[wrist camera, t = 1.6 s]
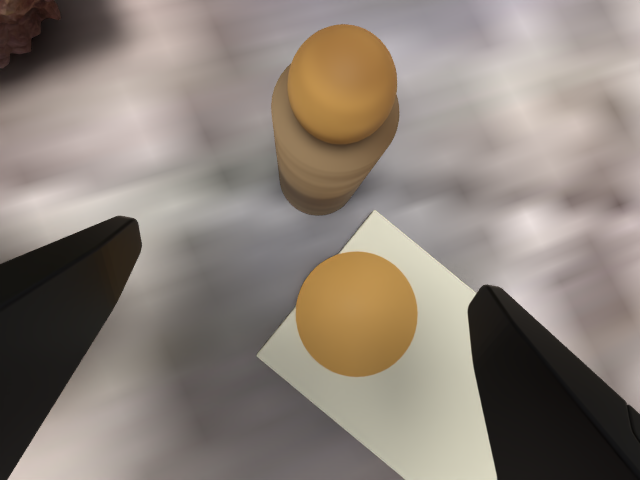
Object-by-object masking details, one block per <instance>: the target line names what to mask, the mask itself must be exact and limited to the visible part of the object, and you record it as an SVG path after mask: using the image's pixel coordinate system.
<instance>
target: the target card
mask: <svg viewBox="0 0 640 480" xmlns="http://www.w3.org/2000/svg"><path fill="white" fill-rule="evenodd" d="M475 295H476V293H475V292H474V291H473V290H472V289H471V288H469V287H468V286H467V285H466V284H465V283H463V282H462V281H461V280H460V279H458V278H457V277H456V276H455V275H454V274H452V273H451V272H450V271H449V270H448V269H446V268H445V267H444V266H443V265H441V264H440V263H439V262H438V261H437V260H435V259H434V258H433V257H432V256H431V255H429V254H428V253H427V252H426V251H424V250H423V249H422V248H421V247H420V246H418V245H417V244H416V243H415V242H413V241H412V240H411V239H410V238H409V237H407V236H406V235H405V234H404V233H403V232H401V231H400V230H399V229H398V228H396V227H395V226H394V225H393V224H392V223H390V222H389V221H388V220H387V219H386V218H384V217H383V216H382V215H381V214H379V213H378V212H377V211H376V210H374V211H373V212H372V213H371V214H370V215H369V216H368V218H367V219H366V220H365V221H364V222H363V224H362V225H361V226H360V227H359V229H358V230H357V231H356V232H355V234H354V235H353V236H352V237H351V239H350V240H349V241H348V242H347V243H346V245H345V246H344V247H343V248H342V250H341V251H340V252H339V253H338V255H335V256H333V257H331V258H328V259H327V260H325V261H323V262H322V263H321V264H319V265H318V266H317V267H316V268H315V269H314V270H313V271H312V272H311V273H310V274H309V276H308V277H307V278H306V280H305V281H304V283H303V285H302V287H301V290H300V292H299V295H298V299H297V303H296V306H295V308H294V309H293V310H292V311H291V313H290V314H289V315H288V316H287V317H286V319H285V320H284V321H283V322H282V324H281V325H280V326H279V327H278V329H277V330H276V331H275V332H274V333H273V335H272V336H271V337H270V338H269V340H268V341H267V342H266V343H265V345H264V346H263V347H262V348H261V350H260V351H259V352H258V353H257V357H258V358H259V359H260V360H262V361H263V362H264V363H265V364H266V365H268V366H269V367H270V368H271V369H272V370H274V371H275V372H276V373H277V374H278V375H280V376H281V377H282V378H283V379H285V380H286V381H287V382H288V383H289V384H291V385H292V386H293V387H294V388H295V389H297V390H298V391H299V392H300V393H301V394H303V395H304V396H305V397H306V398H307V399H309V400H310V401H311V402H312V403H313V404H315V405H316V406H317V407H318V408H320V409H321V410H322V411H323V412H324V413H326V414H327V415H328V416H329V417H330V418H332V419H333V420H334V421H335V422H336V423H338V424H339V425H340V426H341V427H342V428H344V429H345V430H346V431H347V432H349V433H350V434H351V435H352V436H353V437H355V438H356V439H357V440H358V441H359V442H361V443H362V444H363V445H364V446H365V447H367V448H368V449H369V450H370V451H371V452H373V453H374V454H375V455H376V456H377V457H379V458H380V459H381V460H382V461H384V462H385V463H386V464H387V465H388V466H390V467H391V468H392V469H393V470H394V471H396V472H397V473H398V474H399V475H400V476H402V477H403V478H404V479H405V480H497V475H496V470H495V466H494V461H493V457H492V452H491V447H490V443H489V438H488V433H487V429H486V424H485V419H484V415H483V410H482V406H481V401H480V396H479V392H478V387H477V382H476V378H475V373H474V368H473V361H472V353H471V343H470V333H469V324H468V314H467V311H468V306H469V304H470V302H471V301H472V299H473V298H474V296H475Z"/></svg>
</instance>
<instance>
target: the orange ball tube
mask: <svg viewBox="0 0 640 480" xmlns="http://www.w3.org/2000/svg"><path fill="white" fill-rule="evenodd" d="M396 92H397V73H396V68H395V65H394V62H393V59H392V57H391V55H390V52H389V51H388V49H387V48H386V46H385V45H384V44H383V43H382V41H381V40H380V39H379V38H378V37H376V36H375V35H374V34H372V33H371V32H369V31H368V30H366V29H363V28H361V27H358V26H354V25H345V24H341V25H334V26H330V27H327V28H324V29H322V30H320V31H318V32H316V33H315V34H313V35H312V36H310V37H309V38H308V39H307V40H306V41H305V42H304V43H303V44H302V45H301V47H300V48H299V50H298V51H297V53H296V54H295V56H294V58H293V61H292V63H291V64H290V65H289V66H288V67H287V68H286V69H285V70H284V72H283V73H282V74H281V76H280V78H279V79H278V81H277V83H276V86H275V88H274V92H273V95H272V103H271V110H272V120H273V129H274V137H275V145H276V154H277V162H278V170H279V178H280V185H281V189H282V192H283V194H284V196H285V197H286V199H287V200H288V201H289V203H290V204H291V205H292V206H294V207H295V208H296V209H298V210H300V211H301V212H304V213H306V214H310V215H327V214H330V213H333V212H335V211H337V210H339V209H340V208H342V207H343V206H344V205H345V204H346V203H347V202H348V200H349V199H350V198H351V196H352V195H353V194H354V192H355V191H356V190H357V188H358V187H359V186H360V184H361V183H362V182H363V180H364V179H365V177H366V176H367V175H368V173H369V172H370V171H371V169H372V168H373V167H374V165H375V164H376V163H377V161H378V160H379V158H380V157H381V156H382V154H383V153H384V152H385V150H386V149H387V148H388V146H389V145H390V143H391V142H392V140H393V138H394V136H395V133H396V130H397V127H398V122H399V103H398V98H397V95H396Z"/></svg>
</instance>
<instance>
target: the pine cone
mask: <svg viewBox="0 0 640 480" xmlns="http://www.w3.org/2000/svg"><path fill="white" fill-rule="evenodd" d="M47 18H53V19H56V20H60V19H61V15H60V11H59V9H58V6H57V3H56V2H55V1H54V0H0V68H4V67H5V66H7V65H8V64H9V61H10V53H15V54H24V53H28V52H31V38H33V37H35V36H37V35H39V34H40V33H41V21H43V20H44V19H47Z"/></svg>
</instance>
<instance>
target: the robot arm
mask: <svg viewBox="0 0 640 480" xmlns="http://www.w3.org/2000/svg"><path fill="white" fill-rule="evenodd" d="M141 248H142V242H141V236H140V231H139V225H138V222H137V220H136V219H134V218H130V217H125V216H116V217H113V218H111V219H108V220H106V221H104V222H101V223H99V224H96V225H94V226H91V227H89V228H87V229H84V230H82V231H79V232H77V233H74V234H72V235H70V236H67V237H65V238H62V239H60V240H58V241H55V242H53V243H50V244H48V245H45V246H43V247H41V248H38V249H36V250H33V251H31V252H29V253H26V254H24V255H21V256H19V257H16V258H14V259H12V260H9V261H7V262H4V263H2V264H0V480H7V479H8V478H9V476H10V475H11V473H12V471H13V470H14V468H15V467H16V465H17V463H18V462H19V460H20V458H21V457H22V455H23V454H24V452H25V450H26V449H27V447H28V446H29V444H30V442H31V441H32V439H33V437H34V436H35V434H36V433H37V431H38V429H39V428H40V426H41V425H42V423H43V421H44V420H45V418H46V417H47V415H48V413H49V412H50V410H51V408H52V407H53V405H54V404H55V402H56V400H57V399H58V397H59V396H60V394H61V392H62V391H63V389H64V388H65V386H66V384H67V383H68V381H69V379H70V378H71V376H72V375H73V373H74V371H75V370H76V368H77V367H78V365H79V363H80V362H81V360H82V359H83V357H84V355H85V354H86V352H87V350H88V349H89V347H90V346H91V344H92V342H93V341H94V339H95V338H96V336H97V334H98V333H99V331H100V330H101V328H102V326H103V325H104V323H105V321H106V320H107V318H108V317H109V315H110V313H111V312H112V310H113V308H114V307H115V305H116V303H117V301H118V299H119V297H120V295H121V293H122V291H123V289H124V287H125V285H126V282H127V280H128V278H129V276H130V274H131V272H132V270H133V267H134V265H135V263H136V261H137V259H138V257H139V255H140V252H141ZM467 314H468V324H469V333H470V343H471V353H472V361H473V368H474V373H475V378H476V382H477V387H478V392H479V396H480V401H481V406H482V410H483V415H484V419H485V424H486V429H487V433H488V438H489V443H490V447H491V452H492V457H493V461H494V466H495V470H496V475H497V480H640V414H639V413H638V412H637V411H636V410H635V409H634V408H633V407H631V406H630V405H627V403H626V401H625V400H624V399H623V398H621V397H620V396H619V395H618V394H617V393H616V392H615V391H614V390H613V389H612V388H611V387H609V386H608V385H607V384H606V383H605V382H604V381H603V380H602V379H601V378H600V377H598V376H597V375H596V374H595V373H594V372H593V371H592V370H591V369H590V368H589V367H587V366H586V365H585V364H584V363H583V362H582V361H581V360H580V359H579V358H578V357H576V356H575V355H574V354H573V353H572V352H571V351H570V350H569V349H568V348H567V347H565V346H564V345H563V344H562V343H561V342H560V341H559V340H558V339H557V338H556V337H555V336H553V335H552V334H551V333H550V332H549V331H548V330H547V329H546V328H545V327H544V326H542V325H541V324H540V323H539V322H538V321H537V320H536V319H535V318H534V317H533V316H531V315H530V314H529V313H528V312H527V311H526V310H525V309H524V308H523V307H522V306H520V305H519V304H518V303H517V302H516V301H515V300H514V299H513V298H512V297H511V296H510V295H508V294H507V293H506V292H505V291H504V290H503V289H502V288H500V287H497V286H492V285H483V286H482V287H481V288H480V289H479V291H478V292H477V293H476V295H475V296H474V298H473V299H472V301H471V302H470V304H469V306H468V311H467Z"/></svg>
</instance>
